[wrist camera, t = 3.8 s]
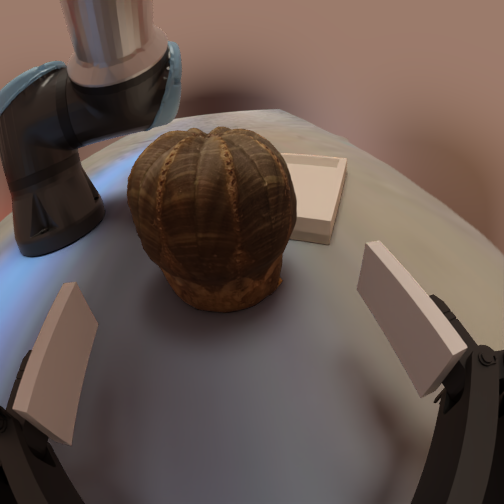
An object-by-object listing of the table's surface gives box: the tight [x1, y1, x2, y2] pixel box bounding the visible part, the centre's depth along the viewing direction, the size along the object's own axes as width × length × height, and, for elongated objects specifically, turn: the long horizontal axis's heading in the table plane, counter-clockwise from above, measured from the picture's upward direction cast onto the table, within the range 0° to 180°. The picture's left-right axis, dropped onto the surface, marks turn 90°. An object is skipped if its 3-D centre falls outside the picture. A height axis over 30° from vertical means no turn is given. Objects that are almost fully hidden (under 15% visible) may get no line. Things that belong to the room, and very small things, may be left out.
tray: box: [280, 153, 347, 245], centre depth 38 cm, size 24×24×2 cm
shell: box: [127, 127, 297, 313], centre depth 19 cm, size 11×11×12 cm
